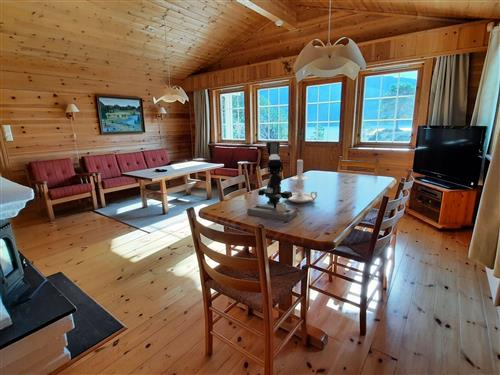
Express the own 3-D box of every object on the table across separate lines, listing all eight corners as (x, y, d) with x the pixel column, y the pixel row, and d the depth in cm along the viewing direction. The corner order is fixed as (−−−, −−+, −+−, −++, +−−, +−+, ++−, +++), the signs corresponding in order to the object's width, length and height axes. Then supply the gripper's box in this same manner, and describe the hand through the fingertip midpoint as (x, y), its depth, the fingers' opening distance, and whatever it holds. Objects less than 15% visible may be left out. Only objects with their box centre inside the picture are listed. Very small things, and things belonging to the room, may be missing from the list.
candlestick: (306, 209, 162) (307, 163, 156) (277, 200, 181) (277, 159, 175) (327, 202, 175) (328, 159, 168) (298, 195, 194) (298, 156, 187)
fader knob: (279, 210, 154) (279, 202, 152) (286, 211, 152) (286, 202, 150) (276, 212, 150) (276, 203, 149) (283, 213, 148) (283, 204, 147)
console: (257, 208, 166) (257, 203, 165) (297, 214, 153) (297, 208, 152) (247, 214, 156) (247, 208, 156) (288, 221, 143) (288, 215, 142)
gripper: (252, 182, 147) (253, 209, 151) (284, 185, 137) (284, 214, 141) (262, 178, 156) (263, 204, 160) (292, 181, 147) (292, 208, 150)
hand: (275, 208), depth 152 cm, fingers closed
